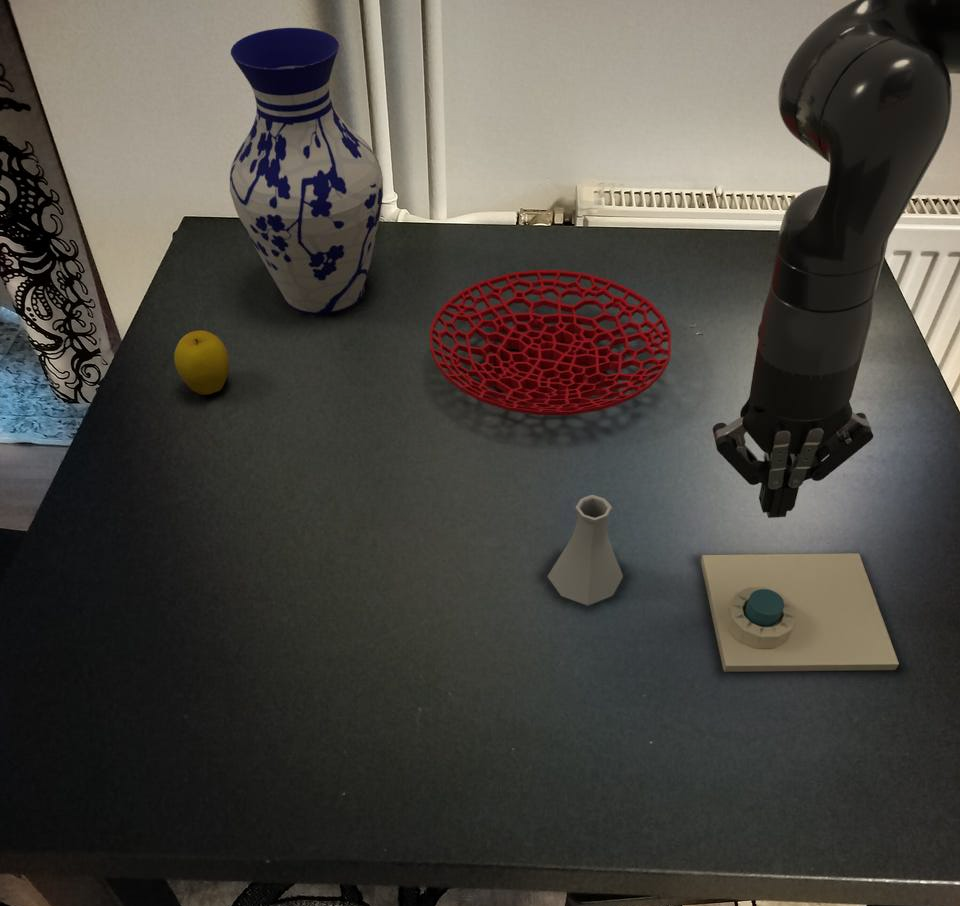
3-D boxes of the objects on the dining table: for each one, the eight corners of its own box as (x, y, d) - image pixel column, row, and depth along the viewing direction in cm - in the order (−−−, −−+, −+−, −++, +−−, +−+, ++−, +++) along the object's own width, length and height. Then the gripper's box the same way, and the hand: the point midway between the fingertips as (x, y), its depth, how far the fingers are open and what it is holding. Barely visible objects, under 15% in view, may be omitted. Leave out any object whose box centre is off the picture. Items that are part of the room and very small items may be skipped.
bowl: (636, 469, 100) (642, 434, 96) (395, 418, 106) (391, 382, 102) (686, 326, 117) (693, 291, 113) (475, 289, 123) (475, 254, 119)
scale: (855, 561, 91) (865, 540, 89) (894, 671, 83) (906, 652, 80) (699, 562, 91) (705, 542, 89) (723, 673, 83) (729, 654, 81)
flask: (534, 578, 90) (538, 507, 82) (581, 542, 93) (590, 469, 86) (588, 617, 87) (597, 547, 79) (635, 578, 90) (649, 506, 82)
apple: (212, 411, 107) (194, 354, 101) (173, 394, 110) (154, 337, 103) (247, 383, 111) (233, 327, 104) (209, 367, 113) (193, 310, 107)
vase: (340, 349, 115) (301, 95, 91) (227, 309, 121) (162, 60, 97) (419, 279, 125) (402, 34, 101) (310, 245, 131) (270, 6, 107)
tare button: (775, 600, 85) (780, 588, 83) (782, 626, 83) (787, 614, 81) (742, 601, 85) (746, 588, 83) (748, 627, 83) (752, 615, 81)
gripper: (727, 378, 64) (705, 546, 78) (917, 364, 63) (861, 536, 76) (712, 320, 69) (694, 487, 82) (889, 305, 67) (841, 477, 81)
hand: (775, 510), depth 79 cm, fingers closed
